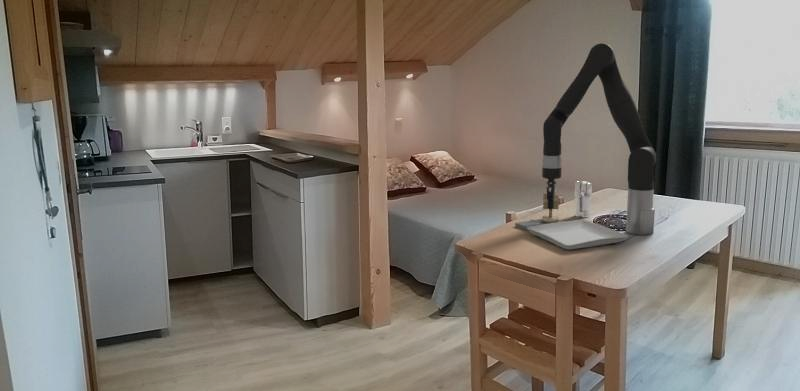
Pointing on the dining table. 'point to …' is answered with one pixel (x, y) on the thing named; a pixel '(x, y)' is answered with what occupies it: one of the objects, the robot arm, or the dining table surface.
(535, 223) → the tuning board
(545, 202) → the knob
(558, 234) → the square plate
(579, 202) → the beer glass
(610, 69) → the robot arm
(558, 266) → the dining table surface
